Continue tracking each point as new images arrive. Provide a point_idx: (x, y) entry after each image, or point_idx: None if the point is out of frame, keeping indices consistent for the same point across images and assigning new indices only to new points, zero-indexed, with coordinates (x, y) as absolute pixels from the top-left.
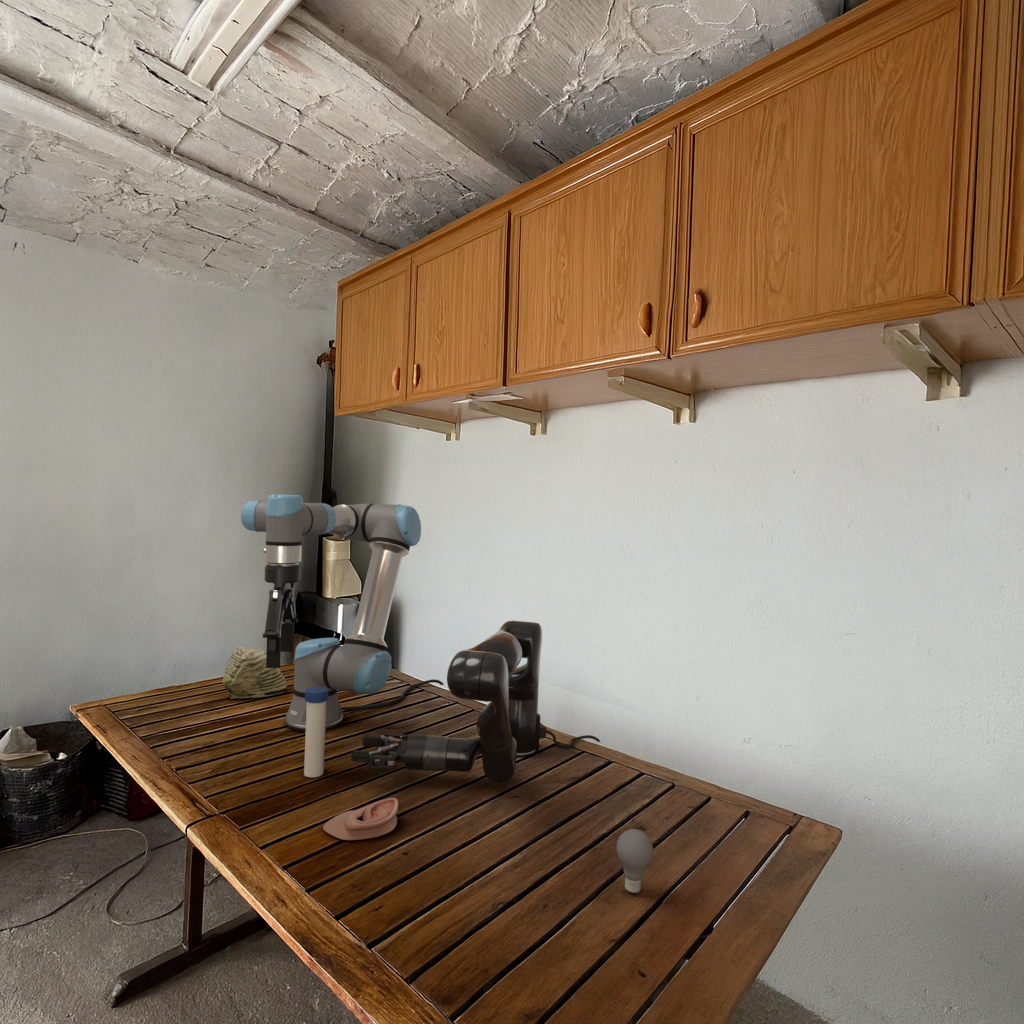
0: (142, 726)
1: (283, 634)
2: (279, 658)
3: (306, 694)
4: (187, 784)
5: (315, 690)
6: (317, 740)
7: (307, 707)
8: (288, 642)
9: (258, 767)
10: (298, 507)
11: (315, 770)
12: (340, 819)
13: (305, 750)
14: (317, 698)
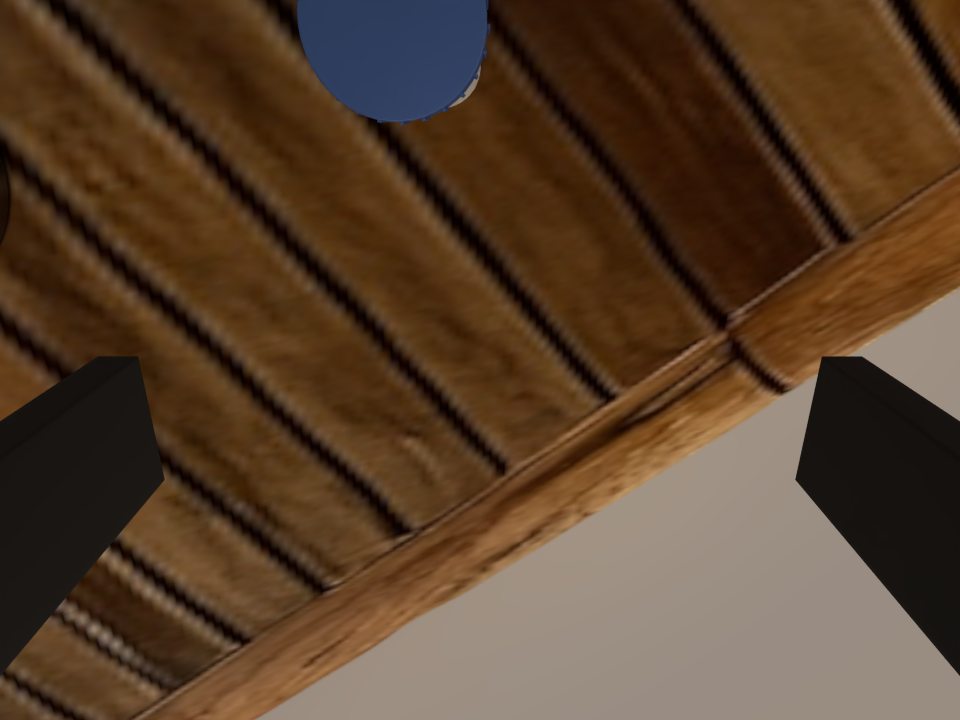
0: (83, 714)
1: (25, 600)
2: (931, 406)
3: (448, 104)
4: (512, 474)
5: (412, 31)
6: None
7: None
8: (83, 460)
9: (384, 296)
10: None
11: None
12: None
13: (456, 101)
14: (487, 3)
